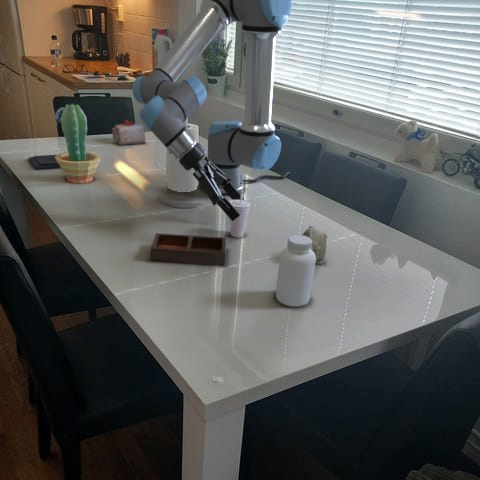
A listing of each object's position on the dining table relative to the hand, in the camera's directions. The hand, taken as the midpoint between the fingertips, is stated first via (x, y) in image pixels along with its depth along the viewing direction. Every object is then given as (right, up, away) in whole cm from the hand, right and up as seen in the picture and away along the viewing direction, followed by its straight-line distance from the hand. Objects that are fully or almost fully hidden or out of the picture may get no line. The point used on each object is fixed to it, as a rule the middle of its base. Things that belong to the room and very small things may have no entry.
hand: (238, 209), depth 143 cm
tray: (-13, -14, -10) cm, 22 cm away
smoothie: (-1, -7, +4) cm, 8 cm away
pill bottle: (+13, -27, -26) cm, 39 cm away
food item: (-50, +49, +87) cm, 112 cm away
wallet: (-71, +30, +53) cm, 93 cm away
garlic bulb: (+20, -15, -6) cm, 26 cm away
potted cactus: (-57, +19, +38) cm, 71 cm away
